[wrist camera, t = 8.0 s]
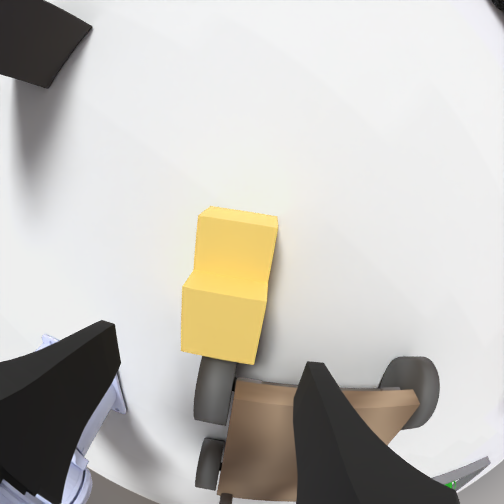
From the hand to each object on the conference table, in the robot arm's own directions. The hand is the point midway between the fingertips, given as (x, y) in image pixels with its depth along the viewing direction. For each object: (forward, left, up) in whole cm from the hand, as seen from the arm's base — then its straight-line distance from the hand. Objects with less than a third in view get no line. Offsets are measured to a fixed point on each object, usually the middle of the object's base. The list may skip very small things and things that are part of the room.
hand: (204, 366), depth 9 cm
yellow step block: (0, +1, -9) cm, 9 cm away
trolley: (+7, -14, -9) cm, 18 cm away
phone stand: (-19, +17, -9) cm, 27 cm away
